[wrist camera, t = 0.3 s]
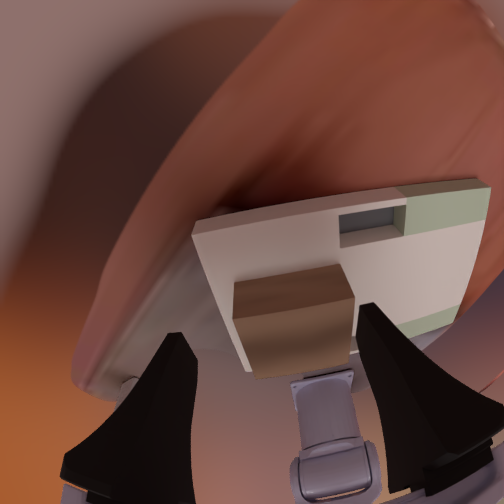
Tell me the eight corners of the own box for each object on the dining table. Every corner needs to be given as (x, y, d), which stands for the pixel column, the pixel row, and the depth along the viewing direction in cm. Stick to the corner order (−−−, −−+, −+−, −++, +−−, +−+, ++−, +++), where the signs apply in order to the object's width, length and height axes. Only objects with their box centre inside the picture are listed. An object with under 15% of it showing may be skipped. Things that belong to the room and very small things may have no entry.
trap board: (445, 310, 25) (452, 322, 23) (245, 356, 27) (245, 372, 25) (476, 178, 16) (491, 187, 15) (196, 220, 18) (191, 235, 17)
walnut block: (338, 331, 22) (348, 363, 19) (254, 345, 23) (255, 379, 20) (340, 263, 18) (355, 297, 15) (234, 282, 19) (232, 319, 16)
